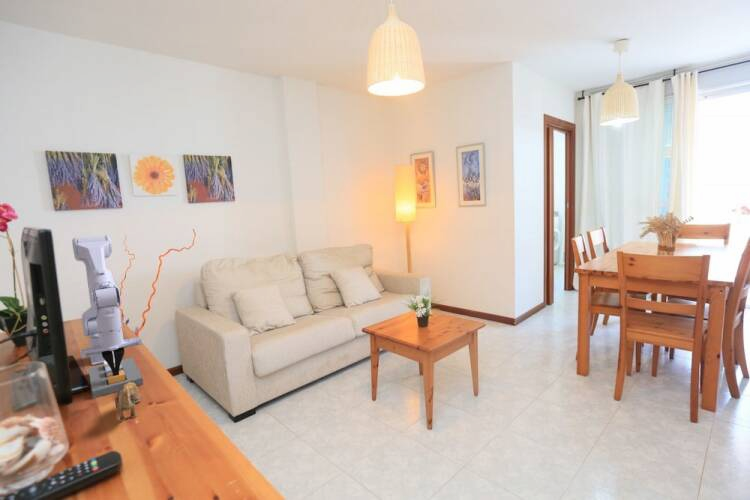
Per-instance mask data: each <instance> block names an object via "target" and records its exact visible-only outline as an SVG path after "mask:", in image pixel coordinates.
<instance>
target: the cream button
mask: <svg viewBox="0 0 750 500" xmlns="http://www.w3.org/2000/svg"><path fill="white" fill-rule="evenodd" d="M103 364H104V368H105V367H109V365H108V363H107V362H106V361H104V362H103ZM114 365H115V359H114ZM105 370H106V369H105Z"/></svg>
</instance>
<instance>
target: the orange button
mask: <svg viewBox="0 0 750 500" xmlns="http://www.w3.org/2000/svg"><path fill="white" fill-rule="evenodd" d="M107 377H108V384H109V385H110V384H114V383H118V382H121V381H125V380H126V379H125V373H124V371H123V370H122V371H119V375H116V376H113V373H110V374H107Z"/></svg>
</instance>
